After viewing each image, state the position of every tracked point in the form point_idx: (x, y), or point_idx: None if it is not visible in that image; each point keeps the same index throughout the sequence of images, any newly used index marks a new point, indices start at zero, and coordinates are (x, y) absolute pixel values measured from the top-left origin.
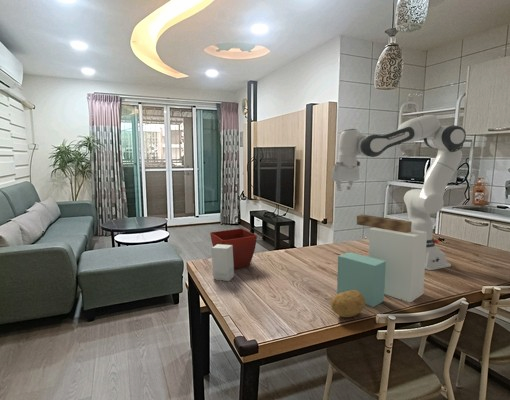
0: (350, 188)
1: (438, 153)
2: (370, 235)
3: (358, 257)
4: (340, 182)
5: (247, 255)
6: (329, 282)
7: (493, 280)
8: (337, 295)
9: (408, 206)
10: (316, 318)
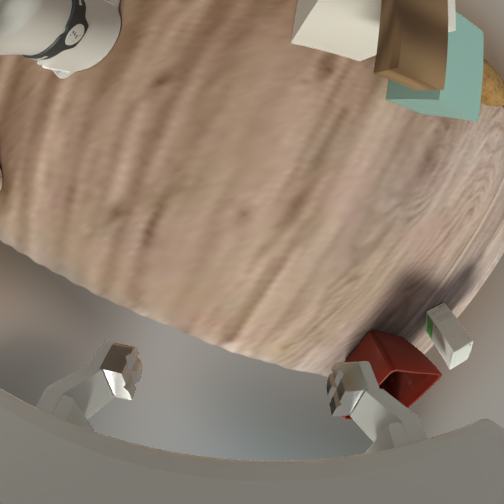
0: (120, 353)
1: None
2: None
3: (463, 68)
4: (415, 432)
5: (389, 344)
6: (378, 148)
7: None
8: (500, 98)
9: None
10: (495, 122)
